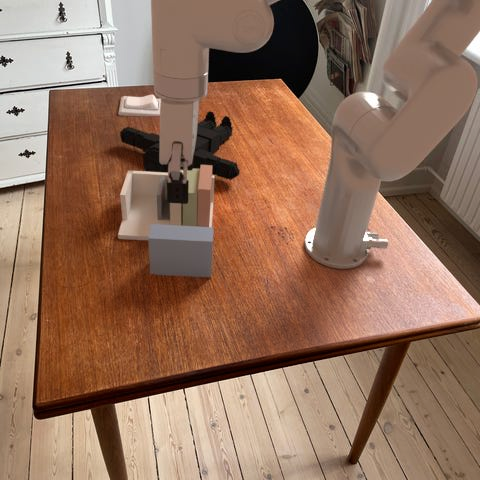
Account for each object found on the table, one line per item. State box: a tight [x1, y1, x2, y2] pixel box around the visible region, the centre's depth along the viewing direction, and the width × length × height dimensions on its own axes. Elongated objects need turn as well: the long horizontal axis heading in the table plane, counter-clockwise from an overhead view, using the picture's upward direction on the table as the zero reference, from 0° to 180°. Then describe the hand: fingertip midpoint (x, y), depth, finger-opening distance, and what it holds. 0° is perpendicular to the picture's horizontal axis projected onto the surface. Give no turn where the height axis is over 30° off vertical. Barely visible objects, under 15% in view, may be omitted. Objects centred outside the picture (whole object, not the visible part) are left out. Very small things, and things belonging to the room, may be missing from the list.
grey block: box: [147, 224, 215, 278], centre depth 89 cm, size 4×11×8 cm, turn 90°
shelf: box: [117, 165, 215, 241], centre depth 99 cm, size 18×14×10 cm
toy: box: [119, 110, 241, 181], centre depth 121 cm, size 33×8×30 cm
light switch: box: [117, 94, 161, 117], centre depth 142 cm, size 11×4×13 cm
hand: (180, 185), depth 80 cm, fingers open, 9 cm apart
